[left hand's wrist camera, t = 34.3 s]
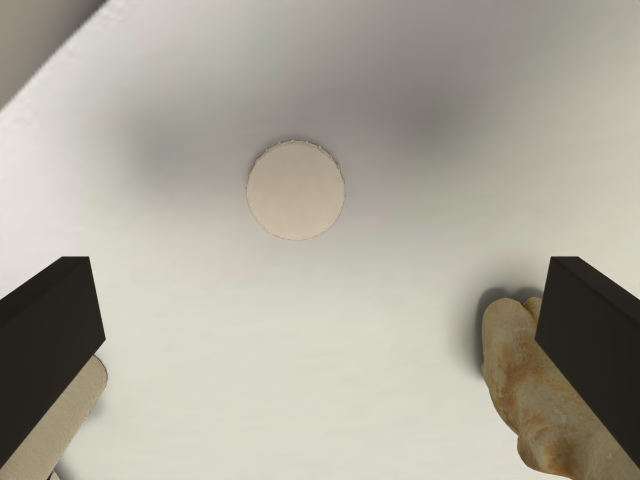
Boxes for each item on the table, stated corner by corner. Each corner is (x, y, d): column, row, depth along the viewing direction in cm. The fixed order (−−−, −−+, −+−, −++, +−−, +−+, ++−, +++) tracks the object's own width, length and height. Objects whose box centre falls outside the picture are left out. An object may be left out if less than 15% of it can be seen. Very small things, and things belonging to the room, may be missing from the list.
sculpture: (563, 288, 28) (830, 510, 14) (541, 382, 30) (746, 650, 16) (472, 288, 27) (646, 513, 13) (457, 382, 30) (591, 655, 16)
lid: (287, 248, 26) (286, 259, 25) (229, 176, 25) (224, 183, 23) (361, 197, 25) (365, 205, 24) (306, 119, 24) (306, 122, 22)
